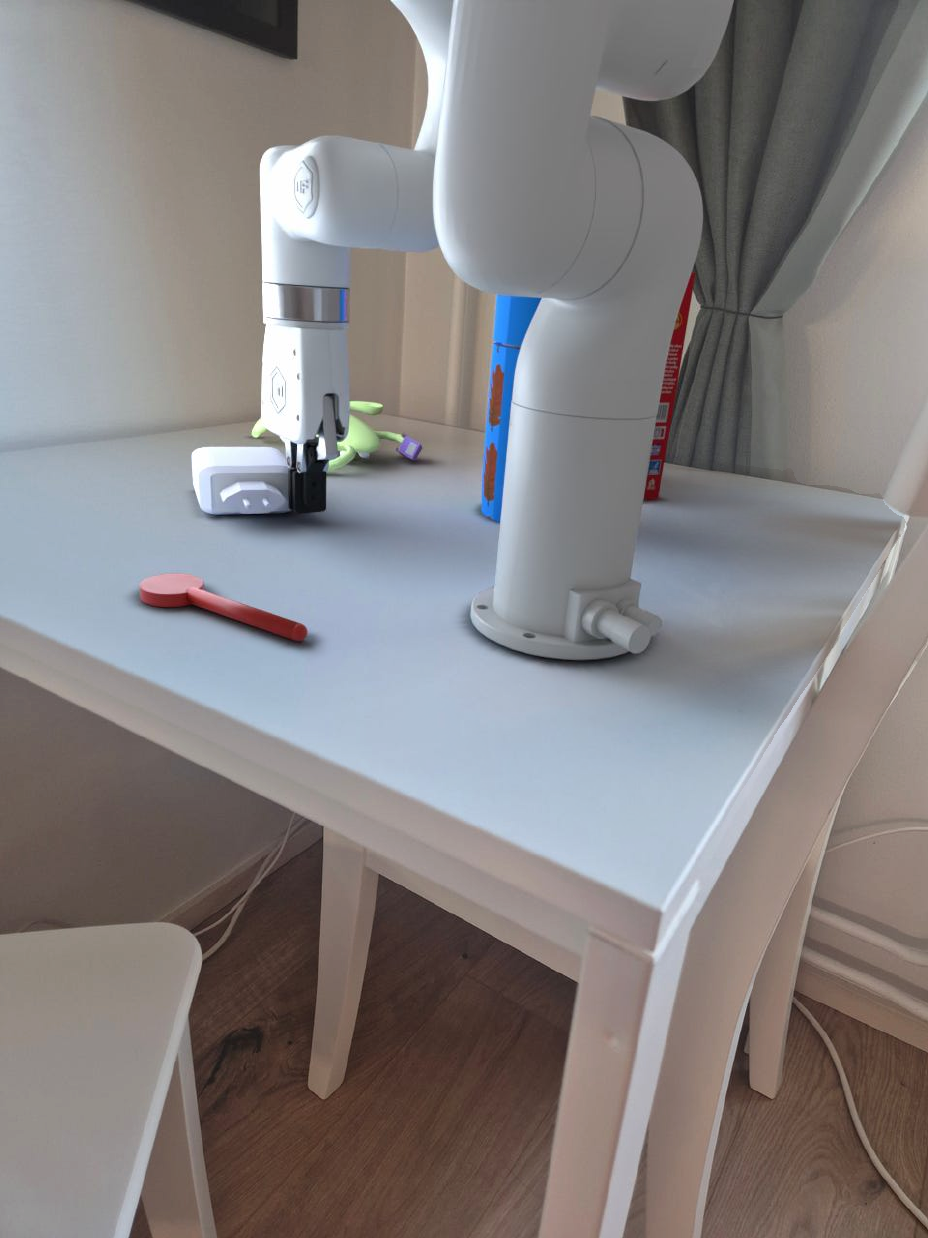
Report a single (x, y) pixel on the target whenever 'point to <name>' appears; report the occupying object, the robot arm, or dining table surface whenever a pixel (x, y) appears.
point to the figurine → (362, 437)
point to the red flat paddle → (213, 603)
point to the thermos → (502, 394)
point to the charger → (240, 480)
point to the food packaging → (668, 397)
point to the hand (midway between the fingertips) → (307, 510)
